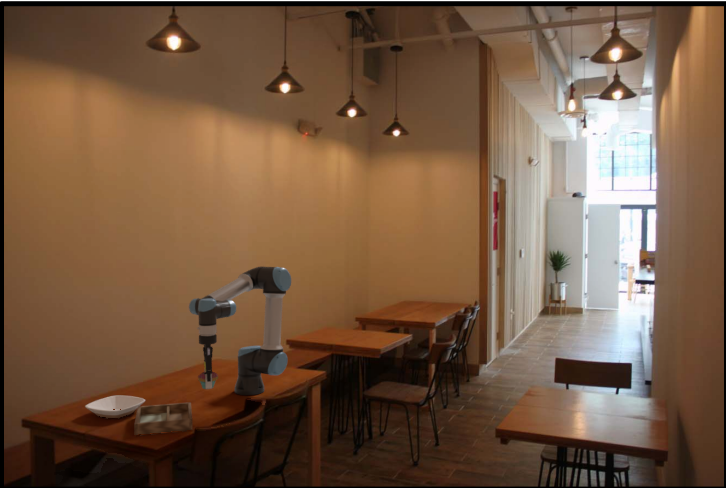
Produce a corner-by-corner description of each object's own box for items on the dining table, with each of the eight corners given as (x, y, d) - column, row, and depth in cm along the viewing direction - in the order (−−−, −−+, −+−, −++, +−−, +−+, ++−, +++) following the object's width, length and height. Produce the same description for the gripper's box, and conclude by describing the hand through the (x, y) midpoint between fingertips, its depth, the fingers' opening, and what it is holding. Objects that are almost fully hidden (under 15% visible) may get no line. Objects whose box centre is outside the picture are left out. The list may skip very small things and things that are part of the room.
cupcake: (194, 389, 253) (193, 361, 252) (206, 384, 261) (205, 357, 260) (210, 391, 250) (210, 363, 249) (222, 386, 257) (221, 359, 257)
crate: (190, 412, 265) (190, 402, 264) (192, 430, 241) (192, 419, 241) (138, 417, 258) (138, 406, 258) (134, 436, 234) (134, 424, 234)
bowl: (78, 418, 256) (78, 406, 256) (115, 404, 276) (115, 393, 276) (116, 424, 248) (116, 412, 248) (151, 410, 268) (151, 398, 268)
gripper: (197, 330, 263) (198, 380, 264) (199, 339, 243) (200, 393, 244) (214, 329, 265) (215, 378, 266) (218, 338, 245) (218, 391, 246)
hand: (208, 385), depth 255 cm, fingers closed on cupcake, 8 cm apart
